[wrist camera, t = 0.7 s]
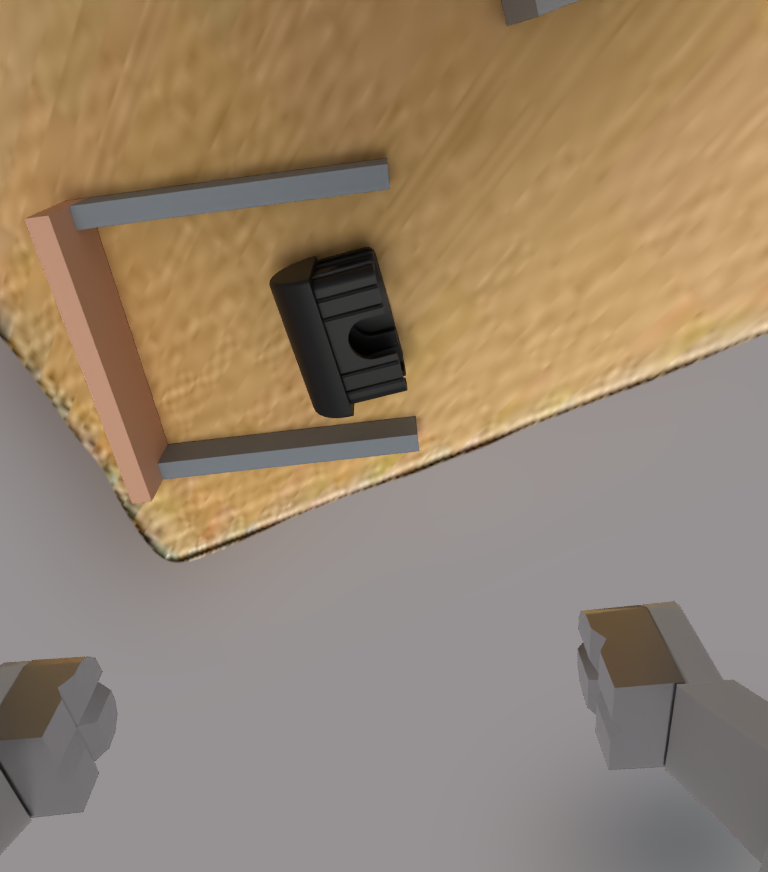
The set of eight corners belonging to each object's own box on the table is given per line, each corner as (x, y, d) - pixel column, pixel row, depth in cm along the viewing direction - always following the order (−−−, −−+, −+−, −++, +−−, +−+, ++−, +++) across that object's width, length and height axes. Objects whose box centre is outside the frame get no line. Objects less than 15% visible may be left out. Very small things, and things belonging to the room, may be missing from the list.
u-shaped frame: (65, 200, 45) (24, 218, 39) (386, 158, 44) (388, 170, 38) (155, 461, 55) (132, 503, 50) (417, 432, 54) (421, 471, 49)
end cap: (275, 264, 47) (261, 292, 41) (371, 237, 46) (370, 263, 40) (318, 386, 52) (311, 427, 46) (405, 364, 51) (409, 403, 45)
